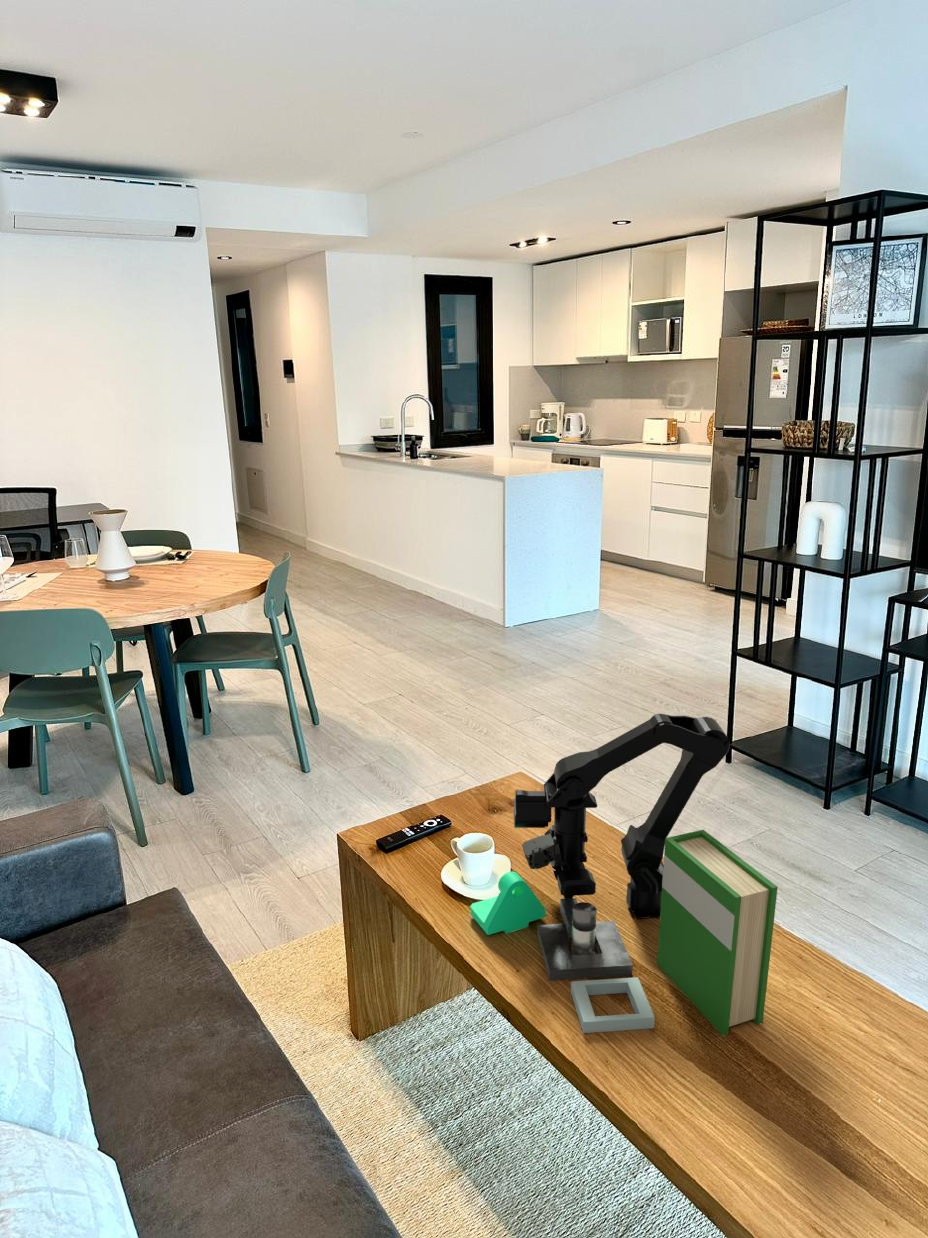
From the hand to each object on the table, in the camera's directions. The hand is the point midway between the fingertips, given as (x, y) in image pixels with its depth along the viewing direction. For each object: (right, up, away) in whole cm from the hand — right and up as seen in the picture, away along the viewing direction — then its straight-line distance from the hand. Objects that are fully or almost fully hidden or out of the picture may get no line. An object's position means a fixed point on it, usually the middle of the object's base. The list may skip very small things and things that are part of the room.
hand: (567, 900), depth 158 cm
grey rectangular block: (0, -3, -4) cm, 5 cm away
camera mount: (-12, -3, -3) cm, 12 cm away
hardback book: (+20, -8, -22) cm, 30 cm away
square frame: (+4, -9, -25) cm, 27 cm away
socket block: (+1, -5, -13) cm, 14 cm away
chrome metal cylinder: (+1, -5, -13) cm, 14 cm away
